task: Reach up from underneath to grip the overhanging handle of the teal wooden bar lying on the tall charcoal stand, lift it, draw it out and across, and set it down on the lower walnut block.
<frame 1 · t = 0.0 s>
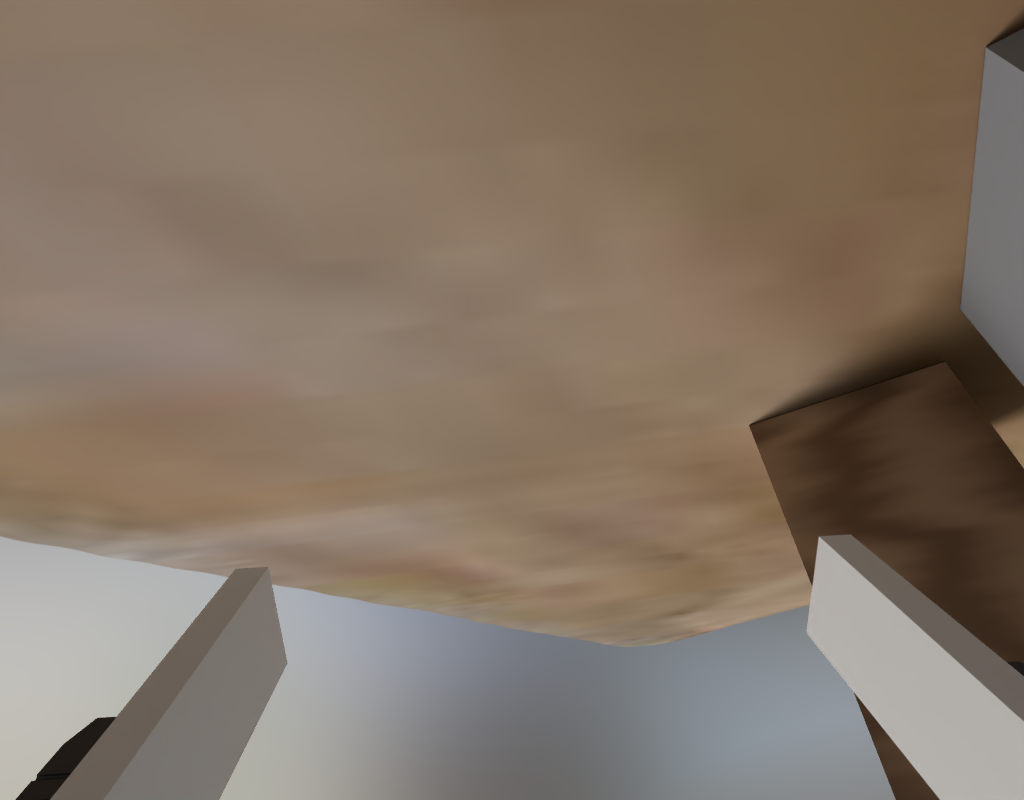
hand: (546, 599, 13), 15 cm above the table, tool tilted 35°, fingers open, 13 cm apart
walnut block: (848, 436, 37), on the table
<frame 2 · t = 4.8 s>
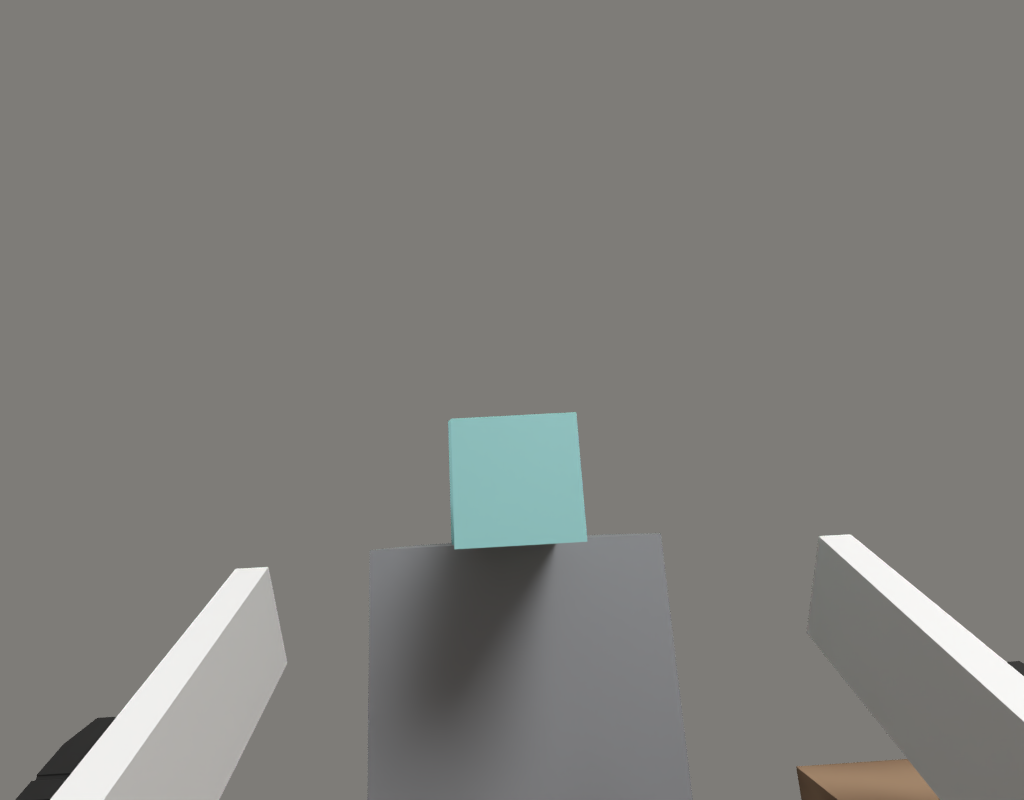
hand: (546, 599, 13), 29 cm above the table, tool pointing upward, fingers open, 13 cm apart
teal bar: (515, 541, 29), point 30 cm above the table, touching stand
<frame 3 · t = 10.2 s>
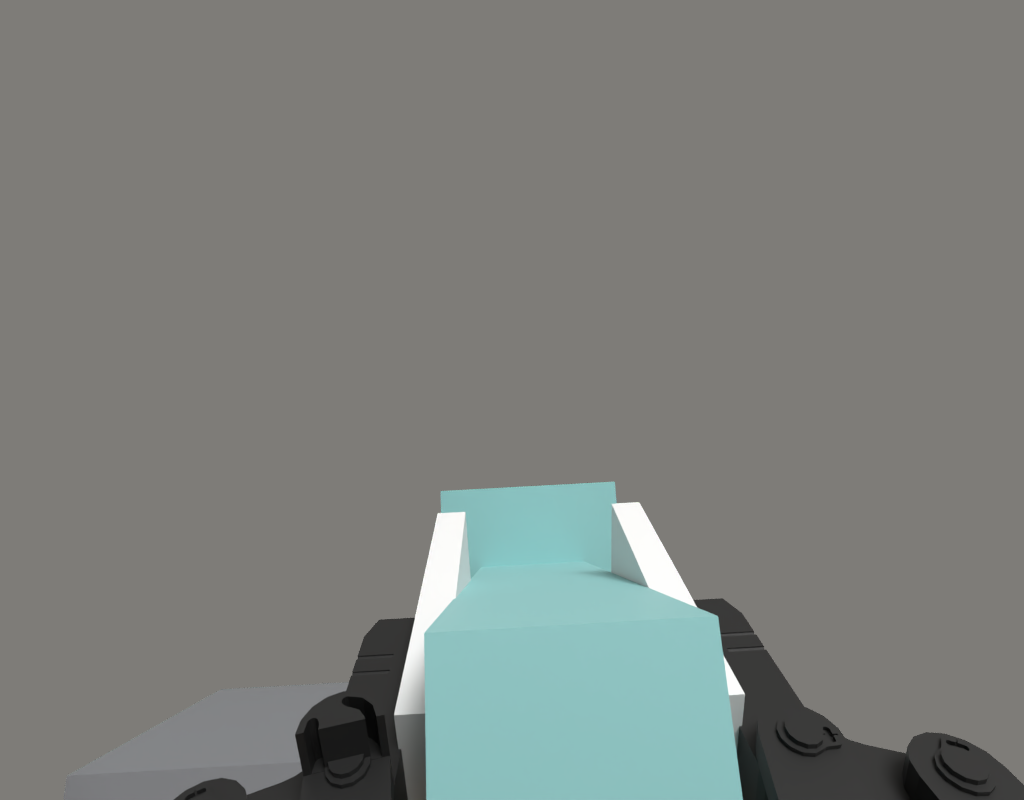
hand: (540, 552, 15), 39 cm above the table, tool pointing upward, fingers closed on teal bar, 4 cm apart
teal bar: (540, 684, 19), point 35 cm above the table, touching gripper
when the fingers open (26 cm above the table, at t = 13.1 s): teal bar drops 1 cm, resting on walnut block.
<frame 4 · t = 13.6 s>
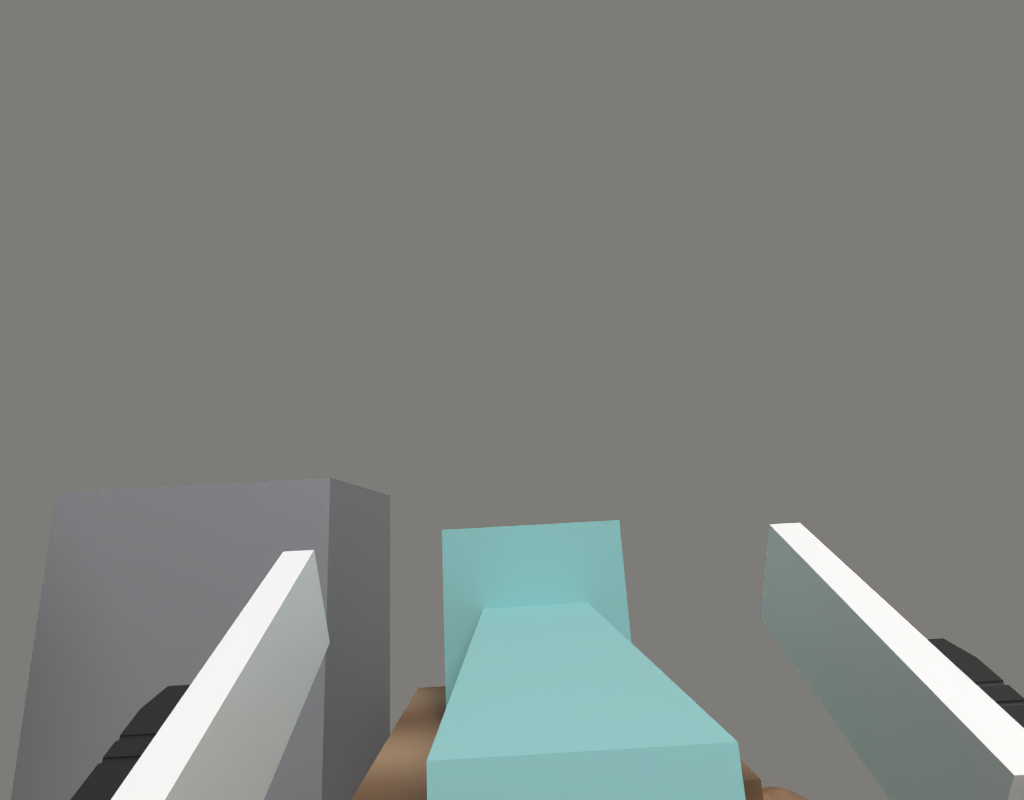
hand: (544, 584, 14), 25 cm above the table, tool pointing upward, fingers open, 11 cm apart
teal bar: (544, 732, 19), point 20 cm above the table, touching walnut block
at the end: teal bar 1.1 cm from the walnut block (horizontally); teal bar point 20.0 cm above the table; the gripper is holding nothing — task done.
